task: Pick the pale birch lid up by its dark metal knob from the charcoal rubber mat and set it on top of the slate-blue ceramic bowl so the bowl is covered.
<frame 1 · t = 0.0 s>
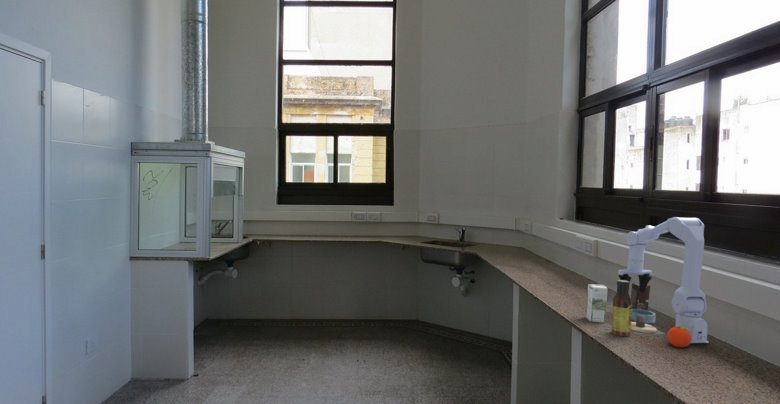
hand: (633, 291, 188), 10 cm above the countertop, tool pointing down, fingers open, 7 cm apart
clementine: (680, 347, 151), on the countertop
bowl: (642, 320, 181), on the countertop
lid: (640, 328, 169), resting on mat
mat: (640, 329, 169), on the countertop
syrup box: (595, 321, 178), on the countertop
sauce bottle: (620, 335, 162), on the countertop
box: (639, 311, 196), on the countertop
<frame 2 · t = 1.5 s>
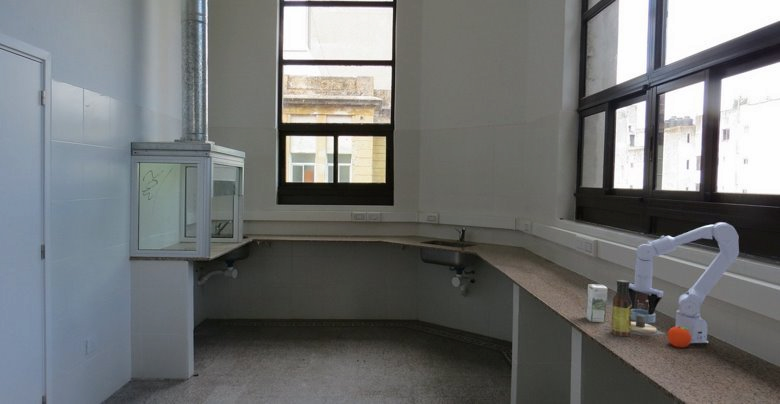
hand: (641, 311, 168), 7 cm above the countertop, tool pointing down, fingers open, 7 cm apart
nothing on the countertop moved.
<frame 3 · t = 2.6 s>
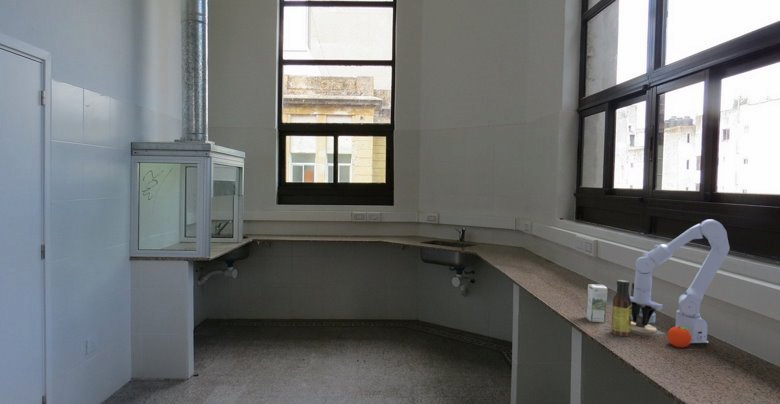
hand: (640, 323, 169), 2 cm above the countertop, tool pointing down, fingers closed on lid, 3 cm apart
lid: (640, 328, 169), resting on mat, touching gripper
everything else where it was.
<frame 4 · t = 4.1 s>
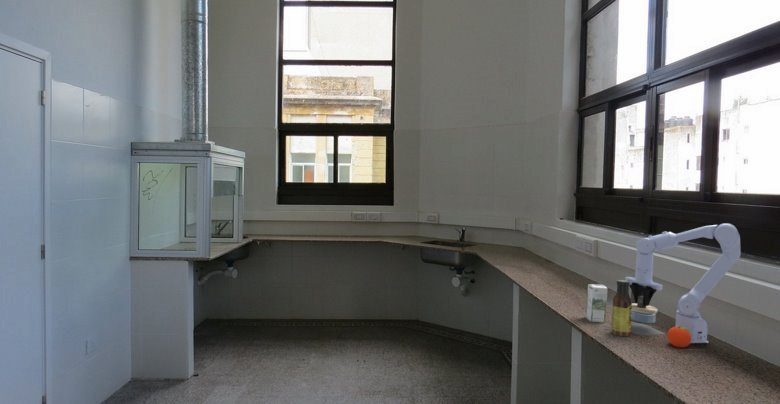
hand: (641, 304, 170), 9 cm above the countertop, tool pointing down, fingers closed on lid, 3 cm apart
lid: (641, 309, 170), point 7 cm above the countertop, touching gripper
everything else where it was.
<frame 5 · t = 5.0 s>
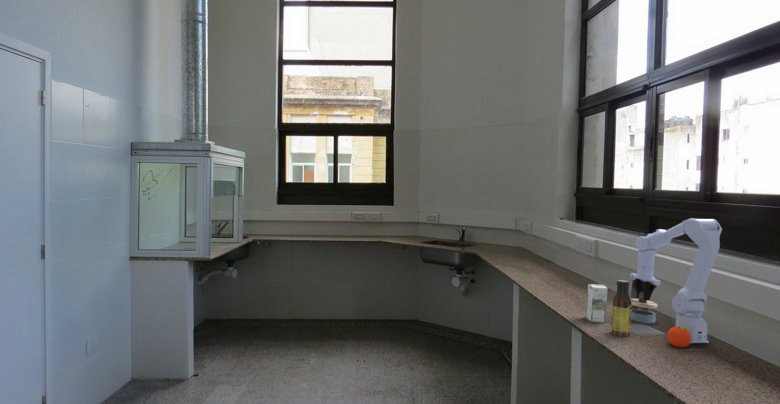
hand: (643, 299, 181), 9 cm above the countertop, tool pointing down, fingers closed on lid, 3 cm apart
lid: (642, 304, 181), point 7 cm above the countertop, touching gripper
everything else where it was.
when the fingers open (7 cm above the countertop, at t = 5.7 s): lid drops 1 cm, resting on bowl.
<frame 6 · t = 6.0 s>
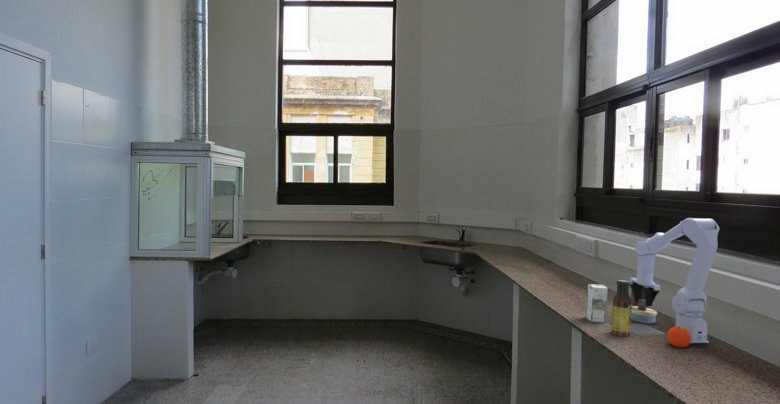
hand: (643, 303, 181), 7 cm above the countertop, tool pointing down, fingers open, 6 cm apart
lid: (641, 312, 181), point 3 cm above the countertop, touching bowl
everything else where it was.
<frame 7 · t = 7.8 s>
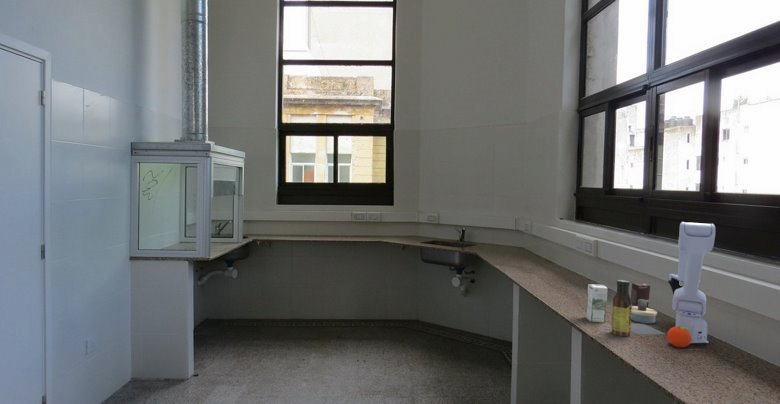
hand: (684, 300, 174), 10 cm above the countertop, tool pointing down, fingers open, 7 cm apart
nothing on the countertop moved.
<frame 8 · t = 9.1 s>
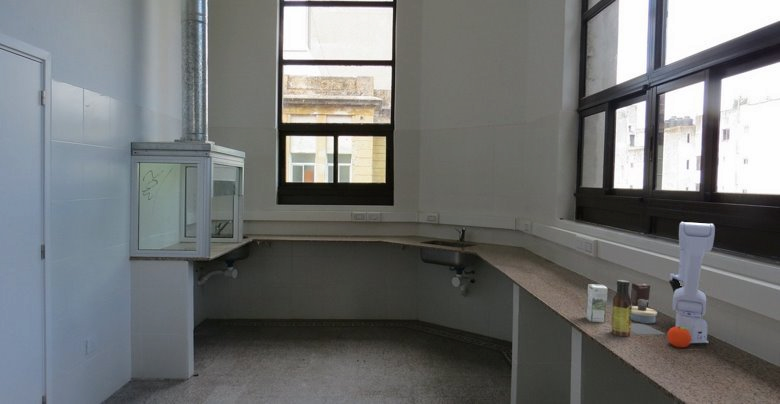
hand: (685, 301, 174), 10 cm above the countertop, tool pointing down, fingers open, 7 cm apart
nothing on the countertop moved.
at the end: lid 0.3 cm off-centre on the bowl, point 3.5 cm above the bowl's base; lid tilted 0°; the gripper is holding nothing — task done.
